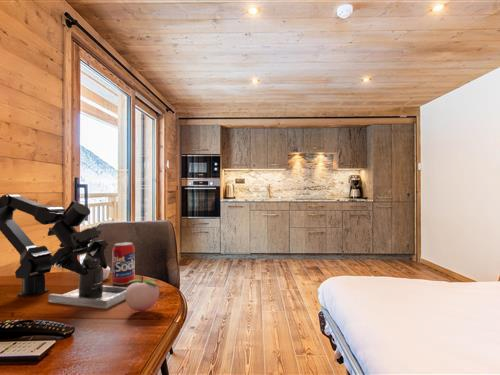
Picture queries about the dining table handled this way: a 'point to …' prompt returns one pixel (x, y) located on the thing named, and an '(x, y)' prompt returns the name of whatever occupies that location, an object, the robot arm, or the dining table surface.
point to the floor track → (105, 301)
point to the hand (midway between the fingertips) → (96, 271)
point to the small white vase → (106, 272)
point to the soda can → (123, 263)
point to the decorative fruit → (141, 294)
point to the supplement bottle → (91, 279)
